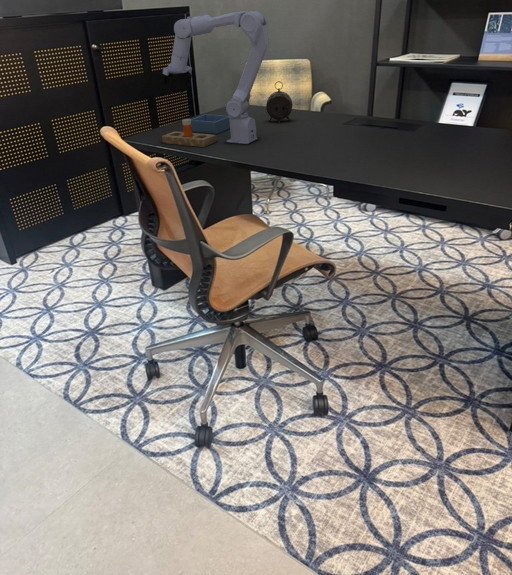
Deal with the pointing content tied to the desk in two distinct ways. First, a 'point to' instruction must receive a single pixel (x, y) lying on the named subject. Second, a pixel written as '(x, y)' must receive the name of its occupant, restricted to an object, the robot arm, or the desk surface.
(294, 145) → the desk surface
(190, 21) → the robot arm
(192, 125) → the bin
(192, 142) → the pen rack
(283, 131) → the desk surface
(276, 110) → the alarm clock
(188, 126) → the pill bottle
